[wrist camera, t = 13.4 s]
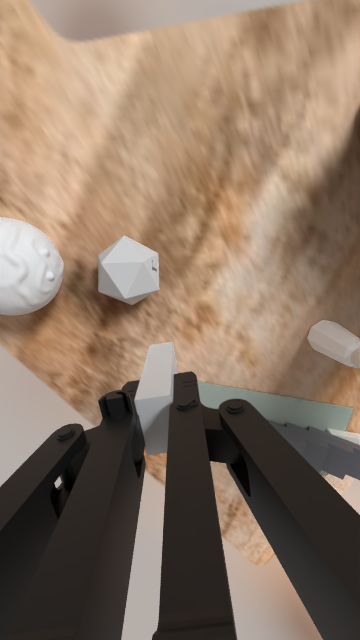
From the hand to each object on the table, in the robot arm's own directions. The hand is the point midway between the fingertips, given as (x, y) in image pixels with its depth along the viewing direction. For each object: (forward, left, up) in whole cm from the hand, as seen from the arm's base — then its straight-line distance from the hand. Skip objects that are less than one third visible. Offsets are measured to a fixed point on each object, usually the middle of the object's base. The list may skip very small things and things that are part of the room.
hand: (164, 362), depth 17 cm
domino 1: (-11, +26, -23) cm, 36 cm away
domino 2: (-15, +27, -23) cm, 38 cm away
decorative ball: (+19, -8, -25) cm, 32 cm away
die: (+5, -5, -25) cm, 26 cm away
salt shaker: (-23, +10, -25) cm, 35 cm away
